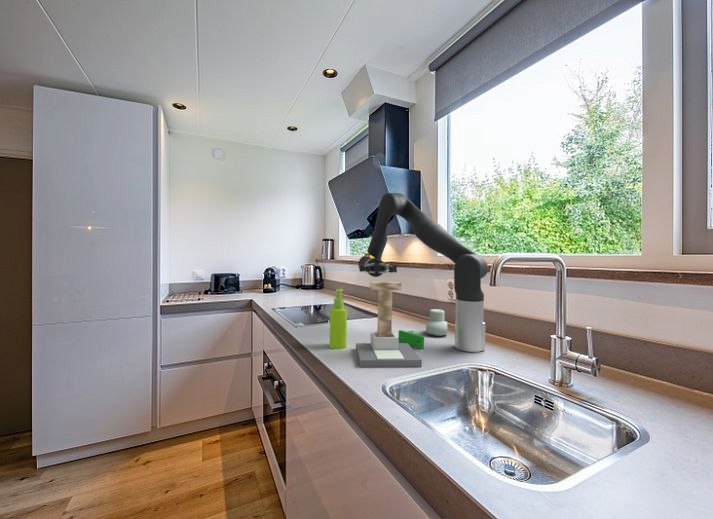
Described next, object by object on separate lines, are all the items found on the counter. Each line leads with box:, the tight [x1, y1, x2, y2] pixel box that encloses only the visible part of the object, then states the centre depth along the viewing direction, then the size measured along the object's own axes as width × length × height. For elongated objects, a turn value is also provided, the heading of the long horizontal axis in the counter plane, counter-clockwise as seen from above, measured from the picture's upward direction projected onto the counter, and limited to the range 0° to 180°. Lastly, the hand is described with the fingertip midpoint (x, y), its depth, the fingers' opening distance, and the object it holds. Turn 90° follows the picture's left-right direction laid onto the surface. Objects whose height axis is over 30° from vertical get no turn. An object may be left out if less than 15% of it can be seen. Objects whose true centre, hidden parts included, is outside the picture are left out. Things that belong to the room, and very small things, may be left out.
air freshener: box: [425, 308, 448, 337], centre depth 129 cm, size 11×8×10 cm
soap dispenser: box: [329, 288, 348, 350], centre depth 110 cm, size 6×7×20 cm
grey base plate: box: [355, 331, 423, 368], centre depth 99 cm, size 18×17×6 cm
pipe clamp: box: [397, 329, 425, 350], centre depth 114 cm, size 11×4×5 cm, turn 39°
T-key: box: [369, 281, 402, 337], centre depth 104 cm, size 10×4×21 cm, turn 95°
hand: (380, 269), depth 114 cm, fingers open, 8 cm apart
